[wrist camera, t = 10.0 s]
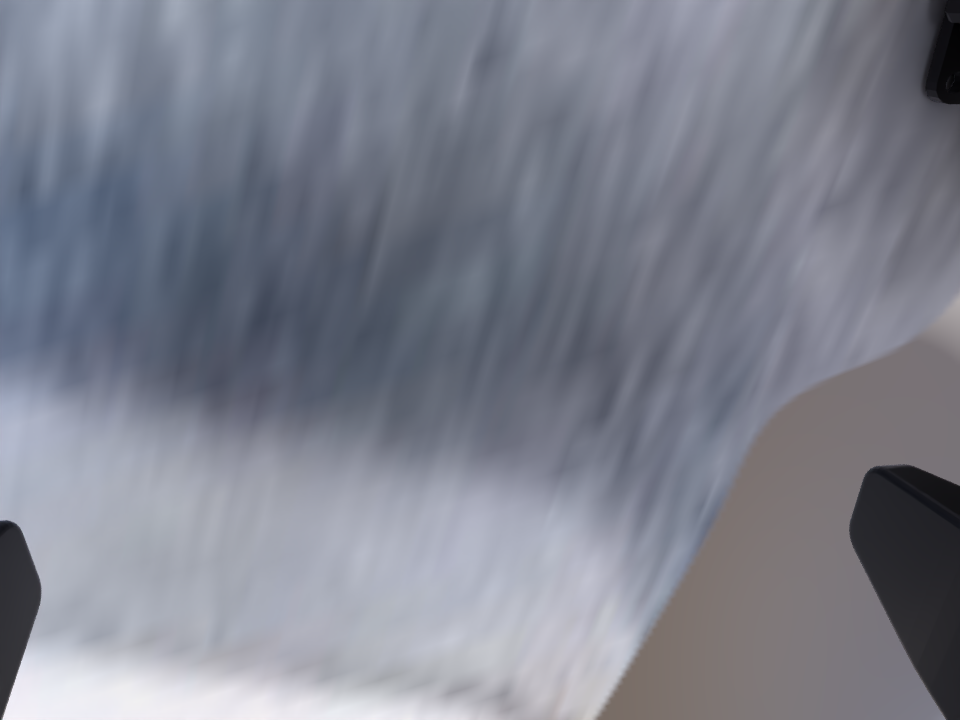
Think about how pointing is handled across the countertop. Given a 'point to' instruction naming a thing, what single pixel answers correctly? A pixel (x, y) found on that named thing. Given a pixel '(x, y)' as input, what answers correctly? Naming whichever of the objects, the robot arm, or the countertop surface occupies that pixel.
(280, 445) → the countertop surface
